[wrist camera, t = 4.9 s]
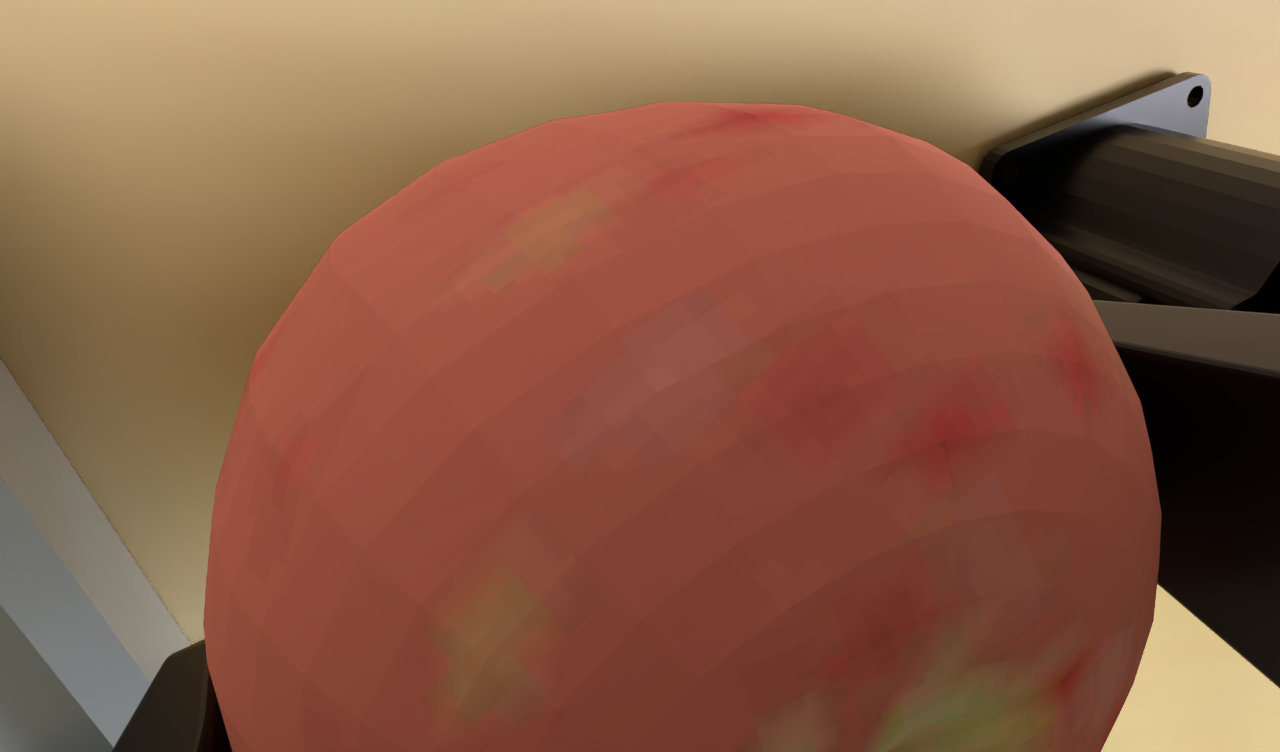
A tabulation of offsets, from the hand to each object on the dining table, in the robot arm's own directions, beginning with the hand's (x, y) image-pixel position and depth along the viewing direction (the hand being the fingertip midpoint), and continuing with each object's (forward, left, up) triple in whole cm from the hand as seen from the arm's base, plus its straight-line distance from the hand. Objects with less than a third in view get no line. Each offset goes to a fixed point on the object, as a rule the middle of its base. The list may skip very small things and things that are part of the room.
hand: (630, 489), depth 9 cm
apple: (0, 0, -3) cm, 3 cm away
